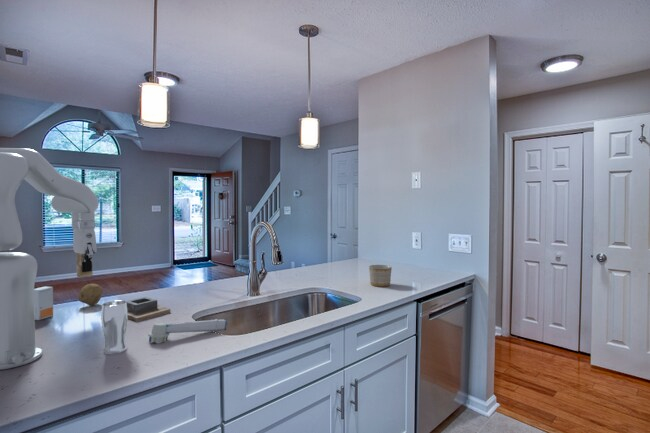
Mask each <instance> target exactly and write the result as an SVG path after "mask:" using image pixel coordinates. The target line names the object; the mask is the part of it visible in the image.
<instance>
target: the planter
mask: <svg viewBox="0 0 650 433" xmlns="http://www.w3.org/2000/svg"><path fill="white" fill-rule="evenodd" d="M392 268H393V267H392V266H391V265H388V264H371V265H369V266H368V269H369V270H368V271H369V272H368V273H369V280H370V281H369V283H370V285H371V286H373V287H377V288H386V287H389V286H390V285H391V276H392V270H393V269H392Z"/></svg>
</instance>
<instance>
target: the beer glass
mask: <svg viewBox="0 0 650 433" xmlns="http://www.w3.org/2000/svg"><path fill="white" fill-rule="evenodd" d="M127 301H128V300H123V299H119V300H118V299H117V300H110V301H106V302H103V303H102V304H101V318H100V320H101V327H102V331H103V335H104V341H105V343H104V349H103V354H104V355H110V356H112V355H118V354H121V353H123V352H125V351H126V350H127V349H128V348H127V343H126V331H127V326H128V320H129V319H128V312H127Z"/></svg>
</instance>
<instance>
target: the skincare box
mask: <svg viewBox="0 0 650 433" xmlns="http://www.w3.org/2000/svg"><path fill="white" fill-rule="evenodd" d="M34 314H35V321H41V320H45V319H47V318H50V317H53V316H54V287H53V286H47V285H45V286H42V287H37V288H34Z"/></svg>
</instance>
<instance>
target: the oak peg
mask: <svg viewBox="0 0 650 433" xmlns="http://www.w3.org/2000/svg"><path fill="white" fill-rule="evenodd" d="M85 254H88V252H86V253H85ZM75 256H76V257H75V258H76V277H78V278H81V279H82V278H89V277H93V274H94V273H93V270H92V271H89V272H82V262H83V256H82V254H80V253H75ZM86 256H87V255H85V258H86Z"/></svg>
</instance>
